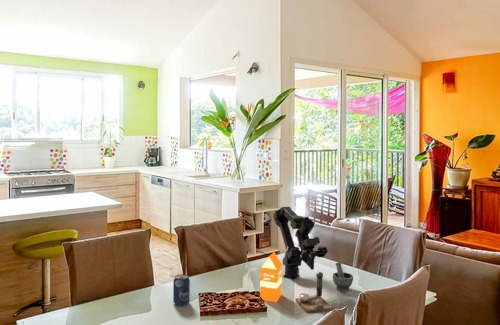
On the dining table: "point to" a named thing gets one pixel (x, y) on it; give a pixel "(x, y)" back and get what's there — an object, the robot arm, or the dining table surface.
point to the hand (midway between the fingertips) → (312, 269)
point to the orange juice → (271, 279)
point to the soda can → (181, 290)
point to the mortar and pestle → (342, 279)
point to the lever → (307, 298)
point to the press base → (315, 305)
